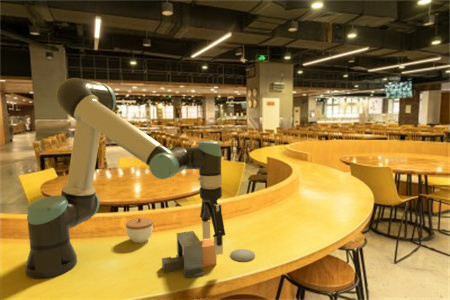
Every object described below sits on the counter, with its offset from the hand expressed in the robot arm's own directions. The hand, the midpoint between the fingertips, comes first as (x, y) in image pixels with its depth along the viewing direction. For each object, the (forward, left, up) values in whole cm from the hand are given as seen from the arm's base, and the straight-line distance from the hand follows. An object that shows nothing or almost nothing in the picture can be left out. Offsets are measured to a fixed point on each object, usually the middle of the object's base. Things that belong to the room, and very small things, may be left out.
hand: (212, 245), depth 104 cm
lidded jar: (-28, -22, -6) cm, 36 cm away
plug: (0, -8, -6) cm, 10 cm away
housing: (0, -8, -6) cm, 10 cm away
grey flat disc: (0, +12, -6) cm, 13 cm away
